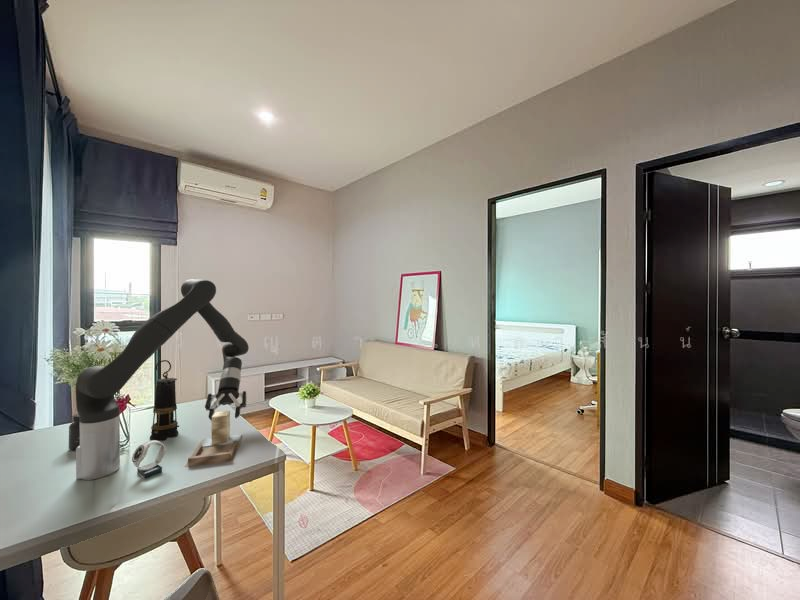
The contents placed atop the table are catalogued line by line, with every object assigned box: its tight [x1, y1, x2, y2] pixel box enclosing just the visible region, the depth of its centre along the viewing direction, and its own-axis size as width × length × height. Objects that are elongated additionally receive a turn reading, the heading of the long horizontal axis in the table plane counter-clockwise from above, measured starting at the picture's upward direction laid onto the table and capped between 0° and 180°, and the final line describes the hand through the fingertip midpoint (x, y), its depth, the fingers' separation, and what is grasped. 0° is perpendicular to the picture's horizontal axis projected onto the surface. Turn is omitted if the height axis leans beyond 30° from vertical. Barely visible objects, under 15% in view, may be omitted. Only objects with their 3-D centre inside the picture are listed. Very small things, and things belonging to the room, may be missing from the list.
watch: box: [131, 440, 167, 480], centre depth 98 cm, size 6×8×11 cm
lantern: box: [149, 359, 180, 442], centre depth 127 cm, size 9×9×30 cm
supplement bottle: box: [68, 413, 80, 452], centre depth 117 cm, size 7×7×12 cm
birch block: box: [211, 410, 231, 444], centre depth 120 cm, size 5×5×10 cm
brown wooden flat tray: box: [184, 434, 244, 468], centre depth 114 cm, size 14×20×4 cm
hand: (223, 418), depth 123 cm, fingers open, 8 cm apart
